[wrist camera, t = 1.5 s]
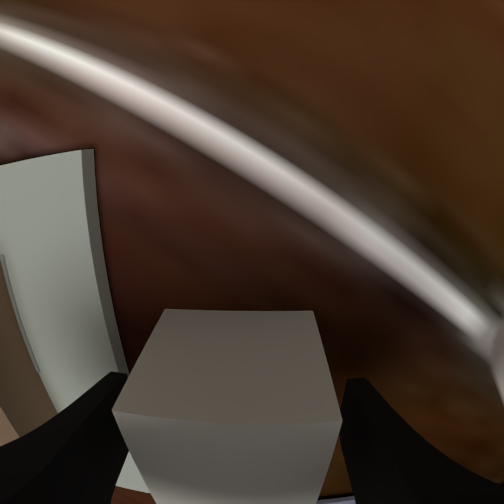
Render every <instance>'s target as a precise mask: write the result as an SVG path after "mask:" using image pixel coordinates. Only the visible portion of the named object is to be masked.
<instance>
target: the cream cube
mask: <svg viewBox="0 0 504 504" xmlns="http://www.w3.org/2000/svg"><path fill="white" fill-rule="evenodd" d="M112 412H113V415H114V417H115V420H116V422H117V425H118V427H119V429H120V432H121V434H122V436H123V438H124V441H125V443H126V445H127V447H128V449H129V452H130V454H131V456H132V458H133V460H134V462H135V464H136V466H137V468H138V470H139V472H140V474H141V476H142V478H143V480H144V482H145V484H146V485H147V487H148V489H149V491H150V493H151V495H152V496H153V498H154V500H155V502H156V503H157V504H316V502H317V500H318V497H319V494H320V491H321V488H322V486H323V483H324V480H325V477H326V474H327V471H328V468H329V465H330V462H331V458H332V455H333V452H334V449H335V445H336V442H337V439H338V435H339V432H340V428H341V425H342V417H341V413H340V409H339V405H338V401H337V397H336V393H335V389H334V386H333V382H332V378H331V374H330V370H329V367H328V363H327V359H326V356H325V352H324V348H323V345H322V341H321V337H320V334H319V330H318V327H317V323H316V320H315V316H314V313H313V311H218V310H184V309H165V310H164V311H163V313H162V315H161V317H160V319H159V321H158V322H157V324H156V326H155V328H154V330H153V332H152V333H151V335H150V337H149V339H148V341H147V343H146V345H145V346H144V348H143V350H142V352H141V354H140V356H139V358H138V360H137V362H136V363H135V365H134V367H133V369H132V371H131V373H130V375H129V377H128V379H127V381H126V383H125V385H124V387H123V389H122V391H121V393H120V395H119V397H118V399H117V401H116V402H115V404H114V406H113V408H112Z"/></svg>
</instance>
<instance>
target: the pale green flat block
mask: <svg viewBox="0 0 504 504" xmlns="http://www.w3.org/2000/svg"><path fill="white" fill-rule="evenodd" d="M111 371H112V372H119V373H127V376H128V377H129V375H130V374H129V371H128V367H127V363H126V360H125V356H124V352H123V348H122V344H121V340H120V336H119V332H118V327H117V323H116V318H115V314H114V309H113V304H112V299H111V294H110V289H109V283H108V278H107V272H106V266H105V259H104V253H103V246H102V239H101V231H100V223H99V214H98V204H97V193H96V181H95V165H94V149H85V150H77V151H71V152H65V153H59V154H53V155H48V156H43V157H38V158H33V159H28V160H23V161H19V162H14V163H10V164H5V165H1V166H0V446H2V445H4V444H7V443H9V442H11V441H13V440H15V439H18V438H20V437H22V436H23V435H25V434H27V433H29V432H31V431H32V430H34V429H36V428H37V427H39V426H41V425H42V424H44V423H45V422H47V421H48V420H50V419H51V418H52V417H54V416H55V415H57V414H58V413H59V412H61V411H62V410H63V409H65V408H66V407H68V406H69V405H70V404H71V403H73V402H74V401H75V400H76V399H78V398H79V397H80V396H81V395H83V394H84V393H85V392H86V391H87V390H89V389H90V388H91V387H92V386H93V385H95V384H96V383H97V382H98V381H99V380H101V379H102V378H103V377H104V376H106V375H107V374H108V373H109V372H111ZM116 486H119V487H123V488H128V489H132V490H137V491H142V492H147V493H150V491H149V489H148V487H147V485H146V484H145V482H144V480H143V478H142V476H141V474H140V472H139V470H138V468H137V466H136V464H135V462H134V460H133V458H132V456H131V454H130V452H128V455H127V457H126V460H125V462H124V465H123V467H122V470H121V473H120V475H119V478H118V480H117V483H116Z"/></svg>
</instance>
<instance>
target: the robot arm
mask: <svg viewBox="0 0 504 504" xmlns="http://www.w3.org/2000/svg"><path fill="white" fill-rule="evenodd" d="M127 379H128V376H127V373H119V372H112V371H111V372H109V373H108V374H107V375H106V376H104V377H103V378H102V379H101V380H99V381H98V382H97V383H96V384H95V385H93V386H92V387H91V388H90V389H89V390H87V391H86V392H85V393H84V394H83V395H81V396H80V397H79V398H78V399H76V400H75V401H74V402H73V403H71V404H70V405H69V406H68V407H66V408H65V409H63V410H62V411H61V412H59V413H58V414H57V415H55V416H54V417H52V418H51V419H50V420H48V421H47V422H45V423H44V424H42V425H41V426H39V427H37V428H36V429H34V430H32V431H31V432H29V433H27V434H25V435H23V436H22V437H20V438H18V439H15V440H13V441H11V442H9V443H7V444H4V445H2V446H0V504H110V503H111V498H112V495H113V492H114V489H115V486H116V483H117V480H118V478H119V475H120V473H121V470H122V467H123V465H124V462H125V460H126V457H127V455H128V452H129V449H128V447H127V445H126V443H125V441H124V438H123V436H122V434H121V432H120V429H119V427H118V425H117V422H116V420H115V417H114V415H113V412H112V408H113V406H114V404H115V402H116V401H117V399H118V397H119V395H120V393H121V391H122V389H123V387H124V385H125V383H126V381H127ZM340 413H341V417H342V425H341V428H340V432H339V435H340V442H341V448H342V452H343V456H344V459H345V463H346V467H347V471H348V475H349V478H350V482H351V486H352V490H353V494H354V496H349V497H342V498H333V499H324V500H317V502H316V504H504V486H502V485H499V484H497V483H495V482H492V481H490V480H488V479H485V478H483V477H481V476H479V475H477V474H475V473H473V472H471V471H470V470H468V469H466V468H465V467H463V466H461V465H459V464H458V463H456V462H455V461H453V460H451V459H450V458H448V457H447V456H446V455H444V454H443V453H442V452H440V451H439V450H437V449H436V448H435V447H433V446H432V445H431V444H430V443H428V442H427V441H426V440H425V439H424V438H423V437H421V436H420V435H419V434H418V433H417V432H416V431H415V430H414V429H413V428H412V427H411V426H410V425H409V424H408V423H407V422H406V421H405V420H404V419H403V418H402V417H401V416H400V415H399V414H398V413H397V412H396V411H395V410H394V409H393V408H392V407H391V406H390V405H389V404H388V403H387V401H386V400H385V399H384V398H383V397H382V396H381V395H380V394H379V393H378V391H377V390H376V389H375V388H374V387H373V386H372V385H371V383H370V382H369V381H368V380H367V379H366V378H356V379H347V383H346V388H345V392H344V396H343V401H342V405H341V409H340Z"/></svg>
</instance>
